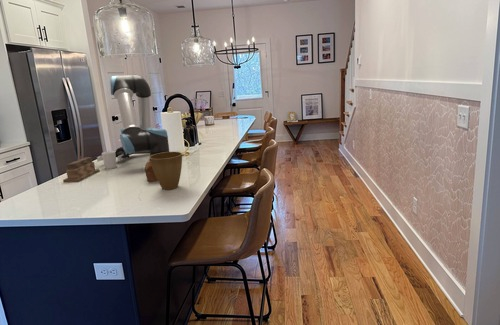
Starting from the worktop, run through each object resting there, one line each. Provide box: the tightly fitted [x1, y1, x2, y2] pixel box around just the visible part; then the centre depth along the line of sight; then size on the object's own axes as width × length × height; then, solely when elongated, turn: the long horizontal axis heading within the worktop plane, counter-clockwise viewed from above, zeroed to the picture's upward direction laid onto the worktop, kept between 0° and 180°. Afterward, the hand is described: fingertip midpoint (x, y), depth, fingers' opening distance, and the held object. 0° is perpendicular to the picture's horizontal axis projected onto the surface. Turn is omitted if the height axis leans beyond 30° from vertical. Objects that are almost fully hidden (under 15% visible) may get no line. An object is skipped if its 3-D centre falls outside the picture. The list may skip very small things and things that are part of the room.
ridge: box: [62, 156, 100, 183], centre depth 191 cm, size 22×9×10 cm, turn 176°
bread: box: [144, 160, 158, 183], centre depth 178 cm, size 19×11×10 cm, turn 11°
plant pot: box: [148, 151, 183, 191], centre depth 156 cm, size 15×15×16 cm
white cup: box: [101, 150, 118, 170], centre depth 209 cm, size 8×8×10 cm
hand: (108, 159), depth 208 cm, fingers open, 13 cm apart
